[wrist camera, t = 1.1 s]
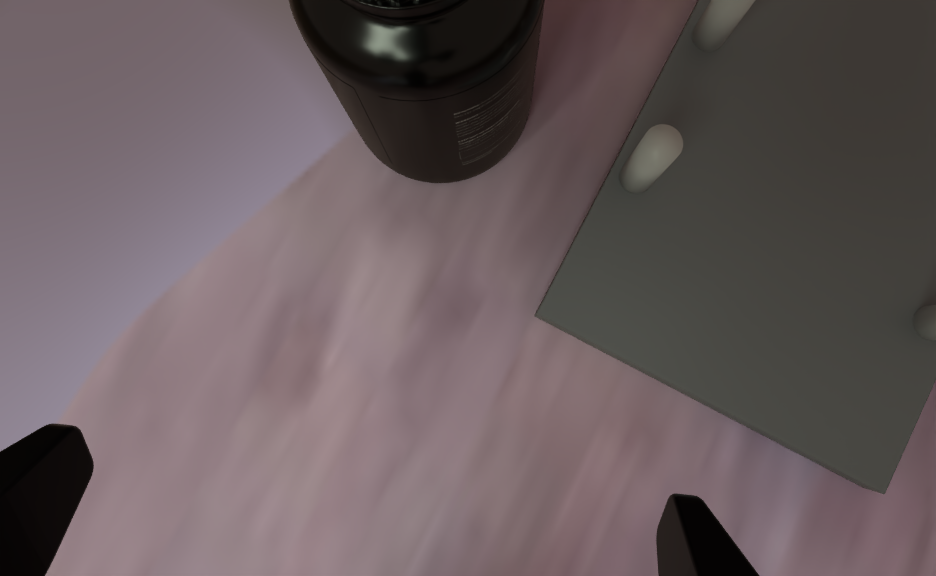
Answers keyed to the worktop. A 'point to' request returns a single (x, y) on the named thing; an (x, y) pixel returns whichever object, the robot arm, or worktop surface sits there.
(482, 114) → the supplement bottle
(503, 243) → the worktop surface
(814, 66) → the pin tray
